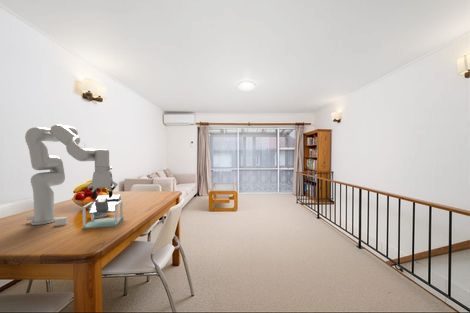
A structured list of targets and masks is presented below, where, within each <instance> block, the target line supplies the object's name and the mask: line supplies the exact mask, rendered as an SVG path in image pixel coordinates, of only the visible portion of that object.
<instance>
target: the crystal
mask: <svg viewBox="0 0 470 313" xmlns="http://www.w3.org/2000/svg"><path fill="white" fill-rule="evenodd" d="M98 196H99V195H97V197H98ZM96 199H97V198H95V199H94V201H93V202H96ZM90 209H91V205H90V206H88V211H89V210H90ZM107 216H109V213H97V214H94V219H101V218H106V217H107Z"/></svg>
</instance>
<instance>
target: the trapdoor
mask: <svg viewBox="0 0 470 313" xmlns="http://www.w3.org/2000/svg"><path fill="white" fill-rule="evenodd" d="M97 196H98V197H97V198H107V201H108V207H107V209H106V211H96V207H95V202H94V201H93V202H94V204H93V205H92V207H91V209H90V210H89V209H88V211H87V214H88V215H91V214H97V213H108V214H109V213H115V204H117V203H118V202H119V201H120V200H122V199H121V194H113V195H112V197H111V198H109V194H107V195H106V194H105V195H103V194H102V195H97ZM95 199H96V198H95ZM96 200H97V199H96Z"/></svg>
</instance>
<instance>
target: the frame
mask: <svg viewBox="0 0 470 313" xmlns="http://www.w3.org/2000/svg"><path fill="white" fill-rule="evenodd" d="M123 202H124V201H123V199H121V200H120V201H119V202H118V203H117V204H115V212H114V217H103V218H94V214H90V221H89V222H87V209H86V208H89V206H90V205H91V207H92V205H93V204H94V201H91V202H88V203H87V204H85V205H83V206H82V208H81V209H82V227H81V230H84V229H85V230H86V229H97V228H98V229H99V228H109V227H118V225H119V224H120V223H121V222H122V220H123V219H124V206H123V204H124V203H123ZM118 206H119V207H120V208H119V207H118ZM118 208H119V210H120V215H118V214H119V213H118V212H119V210H118ZM119 216H120V217H119Z"/></svg>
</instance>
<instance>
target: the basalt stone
mask: <svg viewBox="0 0 470 313" xmlns="http://www.w3.org/2000/svg"><path fill="white" fill-rule="evenodd" d="M95 207H96V211H106V209H107V207H108V201H107V198H97V200H96V202H95Z"/></svg>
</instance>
